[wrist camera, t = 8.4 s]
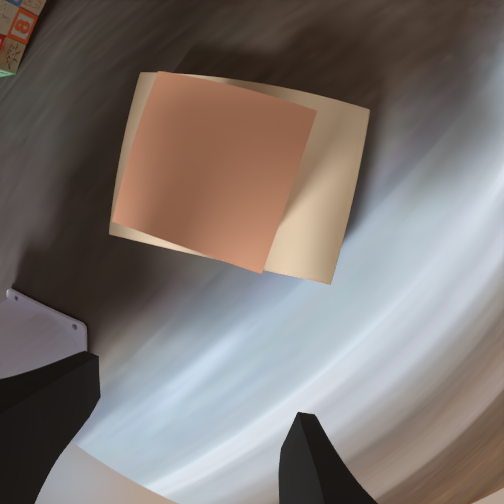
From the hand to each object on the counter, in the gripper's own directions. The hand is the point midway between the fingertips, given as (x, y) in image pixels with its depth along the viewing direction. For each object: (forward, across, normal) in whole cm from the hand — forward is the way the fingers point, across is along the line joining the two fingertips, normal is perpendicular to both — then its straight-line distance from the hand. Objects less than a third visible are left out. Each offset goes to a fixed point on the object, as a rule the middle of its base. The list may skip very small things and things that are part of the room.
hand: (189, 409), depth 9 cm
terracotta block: (+7, +1, -8) cm, 10 cm away
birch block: (+11, +1, -8) cm, 13 cm away
